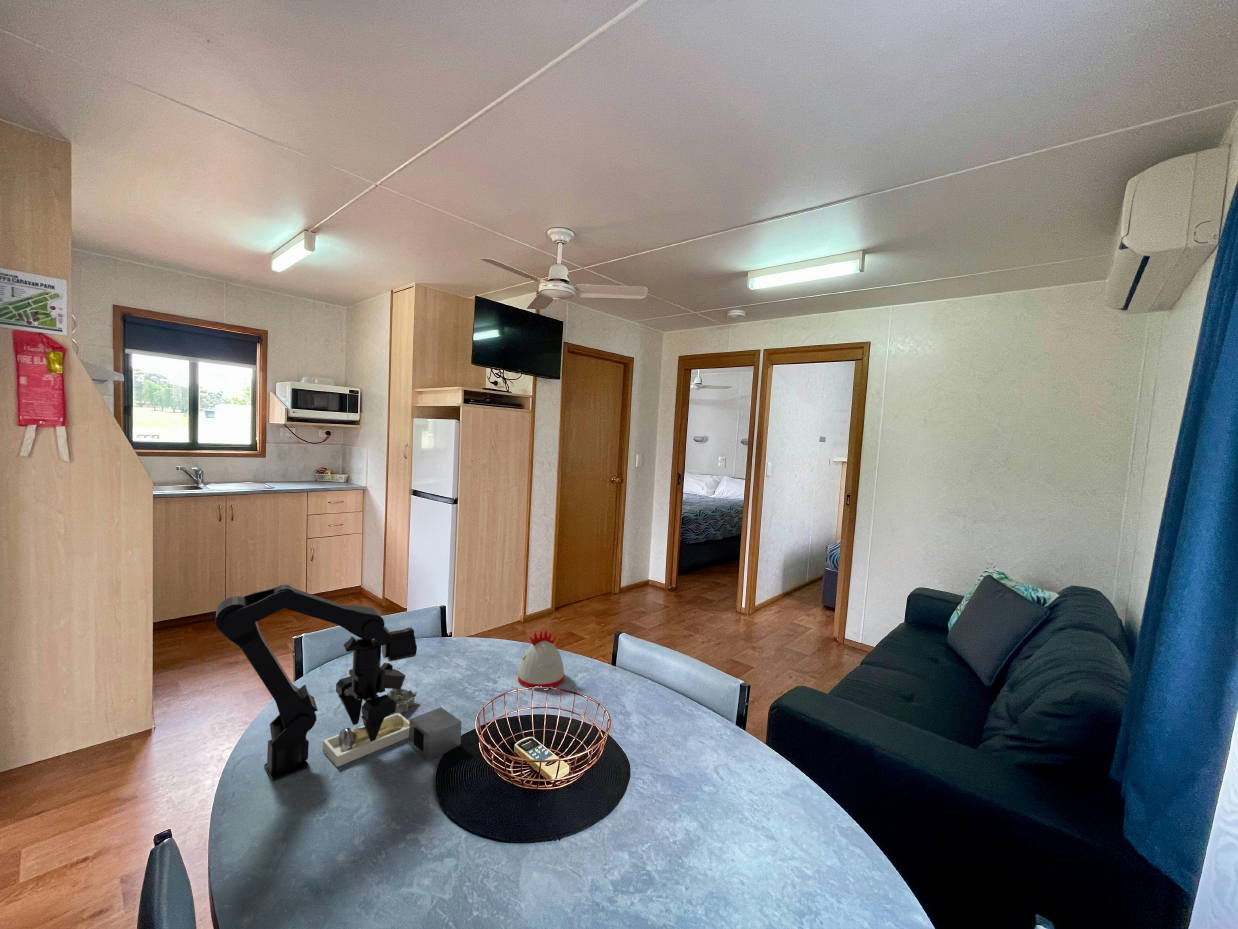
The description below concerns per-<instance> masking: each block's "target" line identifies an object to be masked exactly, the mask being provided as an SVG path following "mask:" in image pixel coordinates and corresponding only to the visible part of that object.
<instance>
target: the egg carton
mask: <svg viewBox="0 0 1238 929" xmlns="http://www.w3.org/2000/svg"><path fill="white" fill-rule="evenodd" d="M417 694H418V692H417V691H415V692H413V691H412V690H411V689H409V690H408V689H404V688H401V689H400V690H397V689H391V690H390V691H389V692H387V693H386V694H384V695H388V696H389V697H391V698H392V699H393V700H394V701H396V702H397V711H396V712H395V713H392V714H391V715H393V714H396V713H399V714H401V715H402V713H407V711H408V709H409V707H410V706H411V707H412V706H414V705H415V699H416V697H417ZM391 715H388V716H391ZM388 716H386V717H388Z"/></svg>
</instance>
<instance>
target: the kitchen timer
mask: <svg viewBox="0 0 1238 929" xmlns="http://www.w3.org/2000/svg"><path fill="white" fill-rule="evenodd" d="M537 635H538V636H537ZM552 635H553V634H552V632H549V633H548V631H547V629H545V630H544V632H543V631H542V630H541V629H540V631H539V634H537V632H536V631H534V632H533V638H532V637H531V636H530V635H529V637H528V638H529V640H530V642H531V645H530V646H529V647H528V648H527V649H526V651H525V653H524V654H523V657H522V660H521V661H520V665H519V668H518V674H517V675H518V676H517V682H518V683H519V684H520V685H521V686H522V687H524V688H527V687H535V686H539V687H540V686H542V687H554V688H556V687H558V686H560V685H561V684H563V682H564V681H565V670H564V669H565V668H564V664H563V659H562V656H561V653H560V651H559V650H558V648H557V647H556V646H555V645H554V643H555V641H556V638H557V636H556V635H554V636H552ZM551 637H552V639H551Z"/></svg>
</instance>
